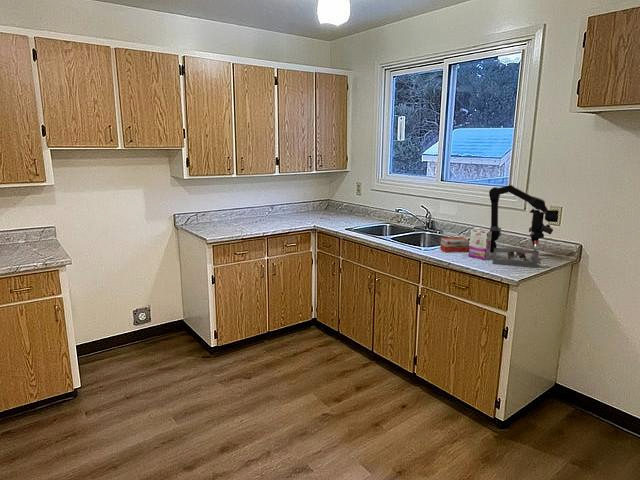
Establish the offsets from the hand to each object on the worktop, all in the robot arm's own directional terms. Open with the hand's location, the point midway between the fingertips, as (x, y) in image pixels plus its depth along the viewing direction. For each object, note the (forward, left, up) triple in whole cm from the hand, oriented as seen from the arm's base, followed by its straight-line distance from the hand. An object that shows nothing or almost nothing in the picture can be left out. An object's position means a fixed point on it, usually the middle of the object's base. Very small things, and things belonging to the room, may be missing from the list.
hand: (534, 246), depth 249 cm
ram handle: (0, -5, -6) cm, 8 cm away
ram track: (0, -8, -6) cm, 10 cm away
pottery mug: (-9, -13, -6) cm, 17 cm away
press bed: (-12, -23, -6) cm, 26 cm away
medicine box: (-45, -2, -6) cm, 46 cm away
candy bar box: (-30, -14, -6) cm, 34 cm away
